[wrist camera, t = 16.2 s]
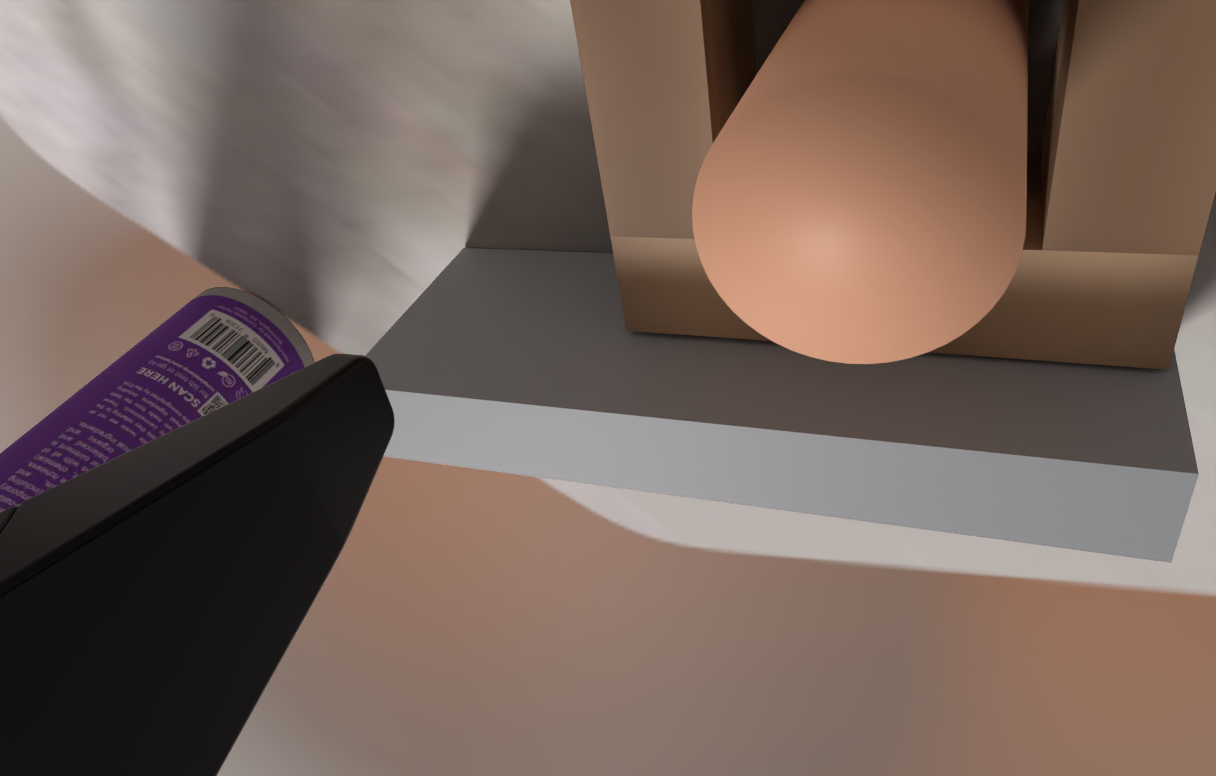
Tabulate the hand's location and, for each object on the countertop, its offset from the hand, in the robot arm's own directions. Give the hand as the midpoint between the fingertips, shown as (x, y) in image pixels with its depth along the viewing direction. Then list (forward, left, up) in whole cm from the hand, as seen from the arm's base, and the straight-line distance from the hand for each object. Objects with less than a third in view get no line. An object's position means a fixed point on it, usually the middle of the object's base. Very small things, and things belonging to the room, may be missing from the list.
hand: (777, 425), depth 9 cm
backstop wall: (+3, +6, -12) cm, 13 cm away
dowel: (0, 0, -12) cm, 12 cm away
